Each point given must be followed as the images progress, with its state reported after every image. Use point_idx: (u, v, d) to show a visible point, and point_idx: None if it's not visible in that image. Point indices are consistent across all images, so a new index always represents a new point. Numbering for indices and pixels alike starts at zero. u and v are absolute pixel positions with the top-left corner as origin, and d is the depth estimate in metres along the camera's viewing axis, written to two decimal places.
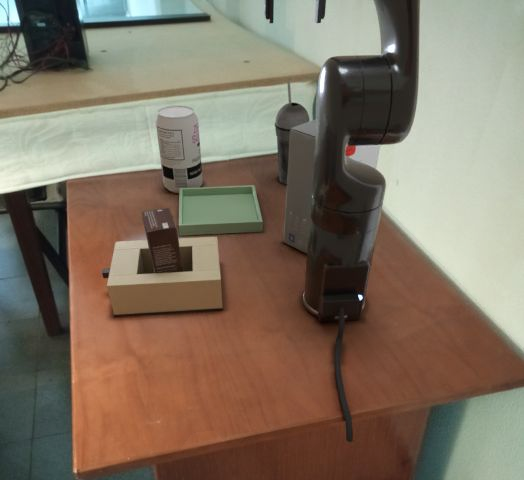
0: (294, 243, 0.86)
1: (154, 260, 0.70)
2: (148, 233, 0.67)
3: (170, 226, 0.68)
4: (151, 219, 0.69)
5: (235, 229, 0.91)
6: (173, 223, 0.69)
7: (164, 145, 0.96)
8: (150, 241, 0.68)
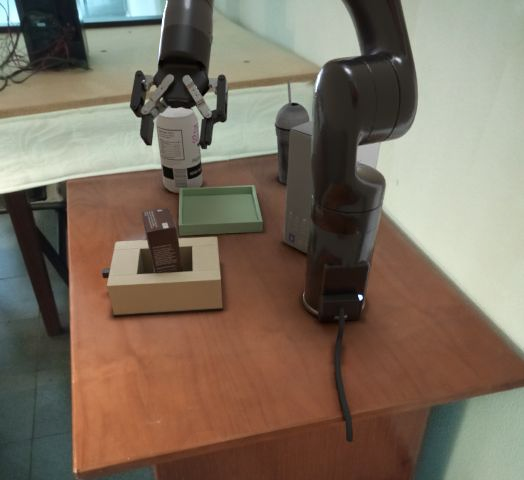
0: (294, 243, 0.86)
1: (154, 260, 0.70)
2: (148, 233, 0.67)
3: (170, 226, 0.68)
4: (151, 219, 0.69)
5: (235, 229, 0.91)
6: (173, 223, 0.69)
7: (164, 145, 0.96)
8: (150, 241, 0.68)
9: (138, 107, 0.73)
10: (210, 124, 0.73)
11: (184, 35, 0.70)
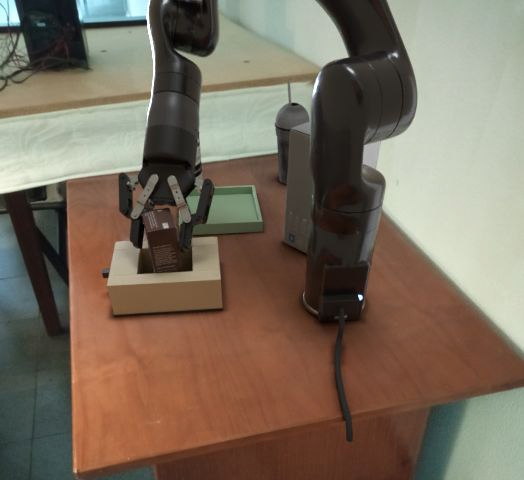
0: (294, 243, 0.86)
1: (154, 260, 0.70)
2: (148, 233, 0.67)
3: (170, 226, 0.68)
4: (151, 219, 0.69)
5: (235, 229, 0.91)
6: (173, 223, 0.69)
7: None
8: (150, 241, 0.68)
9: (128, 211, 0.71)
10: (189, 228, 0.70)
11: (169, 136, 0.68)
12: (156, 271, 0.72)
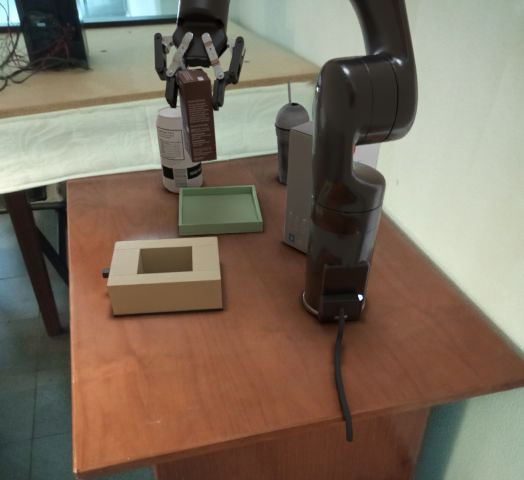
0: (294, 243, 0.86)
1: (188, 116, 0.74)
2: (184, 84, 0.71)
3: (205, 79, 0.71)
4: (186, 75, 0.73)
5: (235, 229, 0.91)
6: (208, 77, 0.72)
7: (164, 145, 0.96)
8: (186, 94, 0.72)
9: (163, 69, 0.74)
10: (222, 85, 0.73)
11: None
12: (190, 129, 0.75)
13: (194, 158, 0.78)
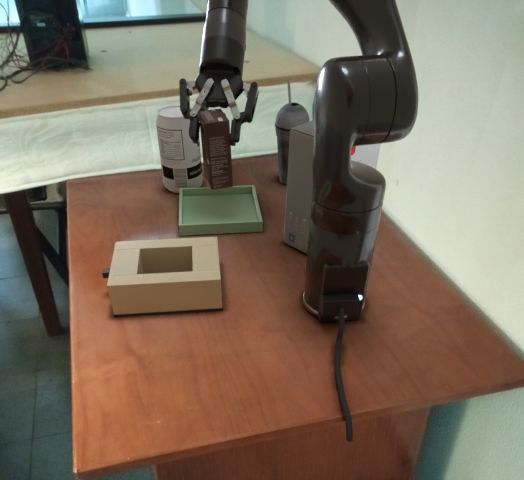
0: (294, 243, 0.86)
1: (209, 151, 0.85)
2: (206, 124, 0.82)
3: (224, 119, 0.82)
4: (207, 115, 0.84)
5: (235, 229, 0.91)
6: (226, 118, 0.83)
7: (164, 145, 0.96)
8: (207, 132, 0.83)
9: (187, 110, 0.85)
10: (239, 124, 0.84)
11: (223, 45, 0.82)
12: (210, 162, 0.86)
13: (213, 186, 0.89)
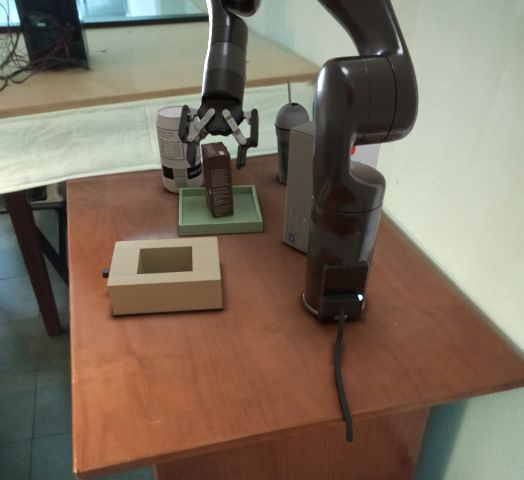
0: (294, 243, 0.86)
1: (211, 182, 0.89)
2: (208, 158, 0.86)
3: (225, 153, 0.86)
4: (209, 148, 0.88)
5: (235, 229, 0.91)
6: (227, 151, 0.87)
7: (164, 145, 0.96)
8: (209, 165, 0.86)
9: (184, 135, 0.88)
10: (245, 149, 0.87)
11: (224, 77, 0.85)
12: (212, 192, 0.90)
13: (215, 214, 0.93)
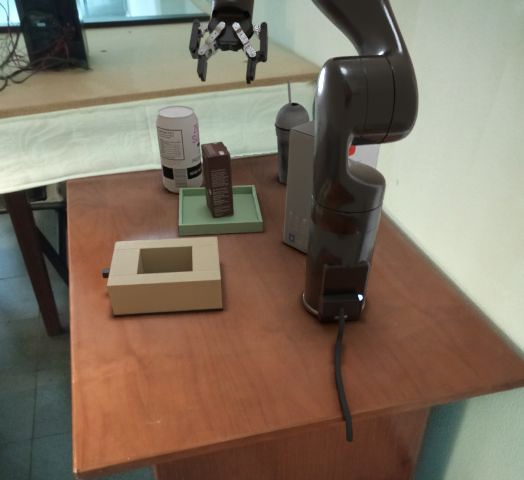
0: (294, 243, 0.86)
1: (211, 182, 0.89)
2: (208, 158, 0.86)
3: (225, 153, 0.86)
4: (209, 149, 0.88)
5: (235, 229, 0.91)
6: (227, 151, 0.87)
7: (164, 145, 0.96)
8: (209, 165, 0.86)
9: (195, 49, 0.90)
10: (254, 62, 0.89)
11: None
12: (212, 192, 0.90)
13: (215, 214, 0.93)
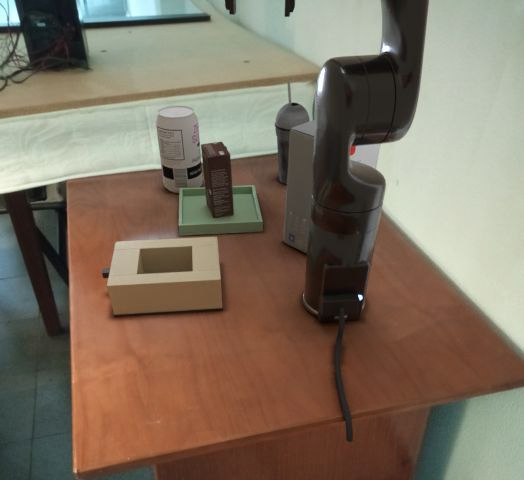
0: (294, 243, 0.86)
1: (211, 182, 0.89)
2: (208, 158, 0.86)
3: (225, 153, 0.86)
4: (209, 149, 0.88)
5: (235, 229, 0.91)
6: (227, 151, 0.87)
7: (164, 145, 0.96)
8: (209, 165, 0.86)
9: None
10: None
11: None
12: (212, 192, 0.90)
13: (215, 214, 0.93)
